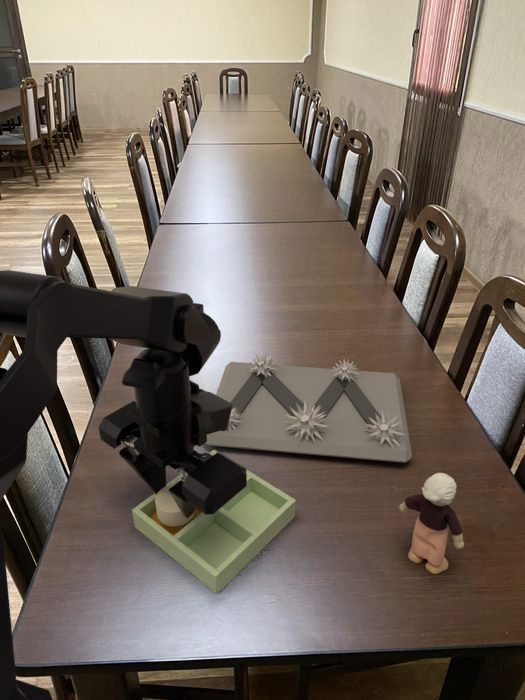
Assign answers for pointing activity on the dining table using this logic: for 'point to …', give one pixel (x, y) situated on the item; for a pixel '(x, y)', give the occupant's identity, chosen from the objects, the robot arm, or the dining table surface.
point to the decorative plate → (314, 411)
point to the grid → (220, 531)
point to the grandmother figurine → (434, 522)
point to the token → (169, 509)
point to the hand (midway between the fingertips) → (175, 504)
